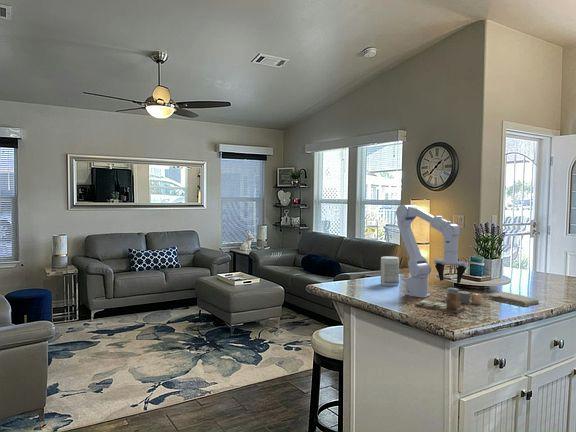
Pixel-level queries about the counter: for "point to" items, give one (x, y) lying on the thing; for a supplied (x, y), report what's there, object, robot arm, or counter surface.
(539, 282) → the counter surface
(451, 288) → the teal spool
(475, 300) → the peach round blob
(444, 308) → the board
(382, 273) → the supplement tub
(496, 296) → the washcloth
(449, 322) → the counter surface
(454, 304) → the walnut block
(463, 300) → the charcoal cube
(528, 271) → the counter surface
